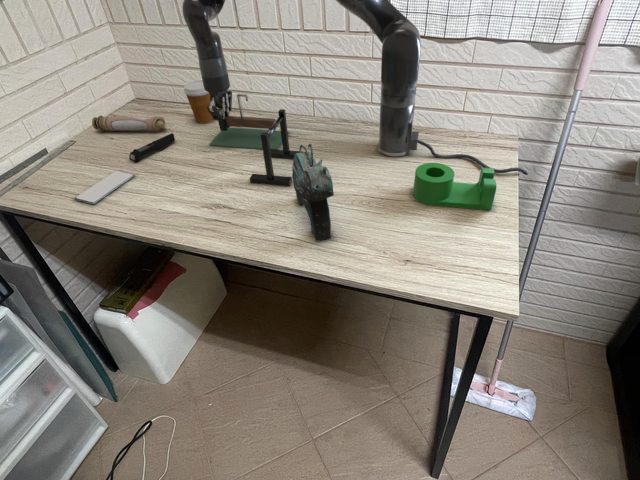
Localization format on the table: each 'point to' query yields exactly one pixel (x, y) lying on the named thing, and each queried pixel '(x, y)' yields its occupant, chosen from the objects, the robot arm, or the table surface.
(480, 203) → the green bracket
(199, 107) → the disposable coffee cup
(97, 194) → the smartphone
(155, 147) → the electric trimmer
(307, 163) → the toy ray gun
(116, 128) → the tan rolled cylinder
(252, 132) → the mat
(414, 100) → the robot arm
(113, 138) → the table surface
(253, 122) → the brown bar with hook
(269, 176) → the rail stand
